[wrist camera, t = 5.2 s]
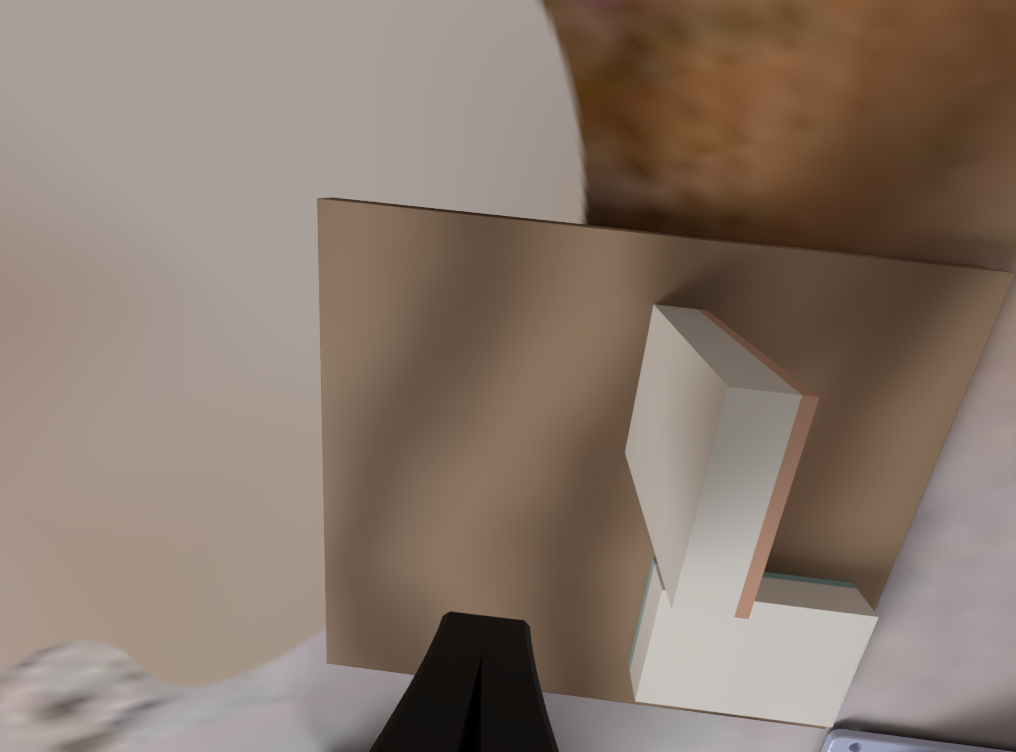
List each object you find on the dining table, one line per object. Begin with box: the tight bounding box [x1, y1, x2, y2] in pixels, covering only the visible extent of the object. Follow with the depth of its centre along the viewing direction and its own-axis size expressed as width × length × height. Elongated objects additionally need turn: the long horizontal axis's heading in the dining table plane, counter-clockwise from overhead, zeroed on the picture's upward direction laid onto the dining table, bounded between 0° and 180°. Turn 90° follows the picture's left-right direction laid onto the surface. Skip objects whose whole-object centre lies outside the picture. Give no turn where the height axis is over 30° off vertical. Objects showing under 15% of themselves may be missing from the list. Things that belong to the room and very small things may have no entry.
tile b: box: [625, 304, 819, 619], centre depth 14 cm, size 2×5×7 cm, turn 174°
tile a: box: [629, 558, 879, 727], centre depth 19 cm, size 2×5×7 cm
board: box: [317, 198, 1015, 729], centre depth 19 cm, size 20×18×1 cm
